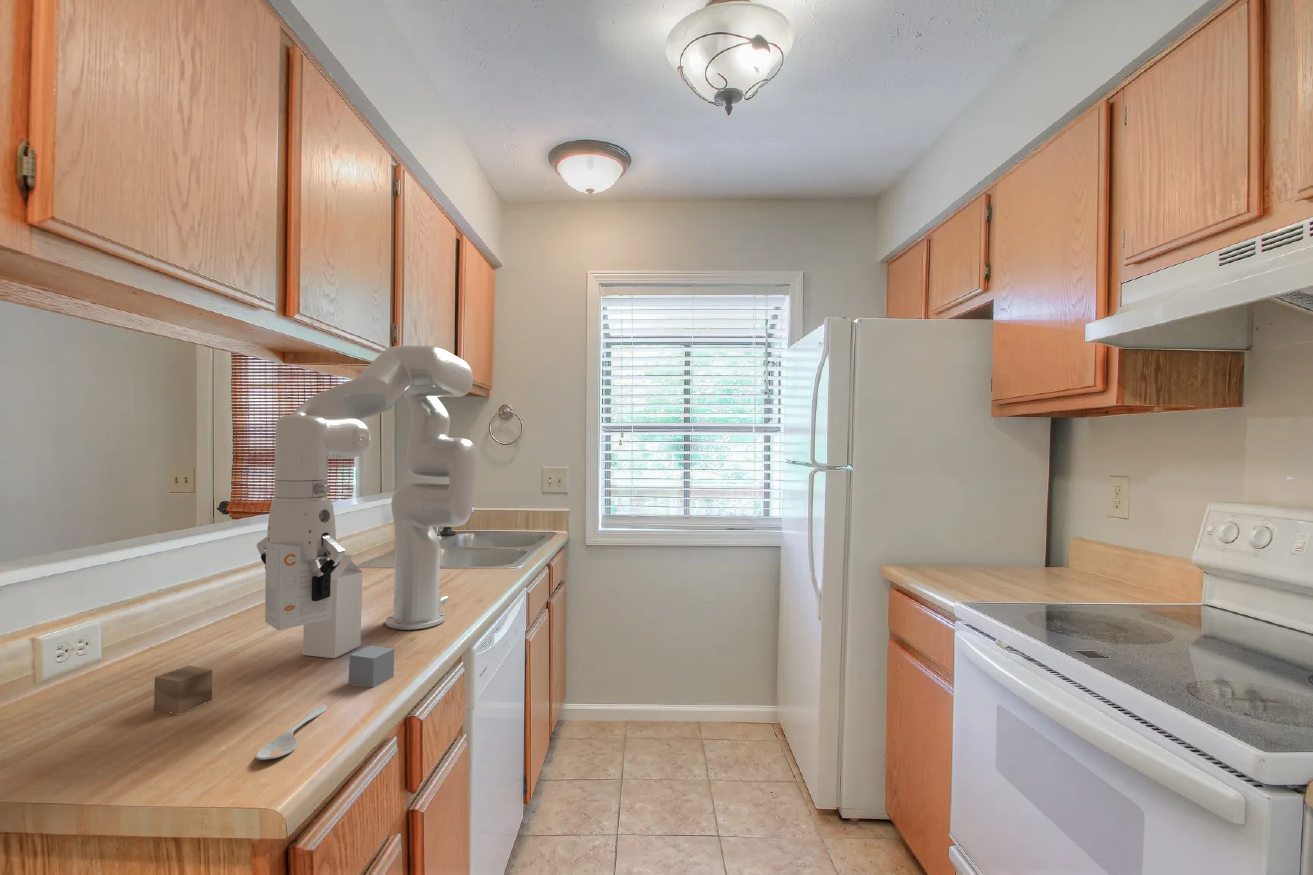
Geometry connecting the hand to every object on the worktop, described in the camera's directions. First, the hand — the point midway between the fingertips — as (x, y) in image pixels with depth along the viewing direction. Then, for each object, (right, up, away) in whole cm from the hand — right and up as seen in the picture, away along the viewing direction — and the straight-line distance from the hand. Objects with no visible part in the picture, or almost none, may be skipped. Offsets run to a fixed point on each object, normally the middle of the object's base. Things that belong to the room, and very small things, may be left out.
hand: (298, 596), depth 98 cm
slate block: (+9, -16, +5) cm, 19 cm away
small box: (0, -4, 0) cm, 4 cm away
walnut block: (-14, -15, -6) cm, 22 cm away
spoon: (+8, -16, -12) cm, 22 cm away
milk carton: (-5, -16, +18) cm, 25 cm away
